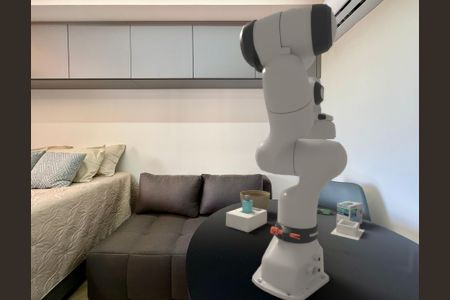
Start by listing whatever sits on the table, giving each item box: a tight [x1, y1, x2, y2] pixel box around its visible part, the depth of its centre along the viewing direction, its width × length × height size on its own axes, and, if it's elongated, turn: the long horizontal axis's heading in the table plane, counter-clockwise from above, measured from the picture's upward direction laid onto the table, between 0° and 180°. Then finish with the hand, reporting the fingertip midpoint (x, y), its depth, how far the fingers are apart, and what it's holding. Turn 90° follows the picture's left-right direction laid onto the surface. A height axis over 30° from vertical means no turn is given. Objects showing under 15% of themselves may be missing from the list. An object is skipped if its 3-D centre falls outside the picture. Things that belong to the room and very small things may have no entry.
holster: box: [330, 219, 365, 241], centre depth 96 cm, size 14×10×5 cm
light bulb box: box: [336, 200, 364, 225], centre depth 108 cm, size 11×7×11 cm, turn 123°
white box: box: [225, 206, 268, 233], centre depth 108 cm, size 16×12×6 cm
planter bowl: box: [239, 189, 271, 210], centre depth 126 cm, size 16×16×11 cm
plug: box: [241, 195, 253, 214], centre depth 108 cm, size 4×3×12 cm
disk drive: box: [317, 207, 332, 217], centre depth 126 cm, size 10×3×15 cm
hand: (309, 150), depth 98 cm, fingers open, 8 cm apart
